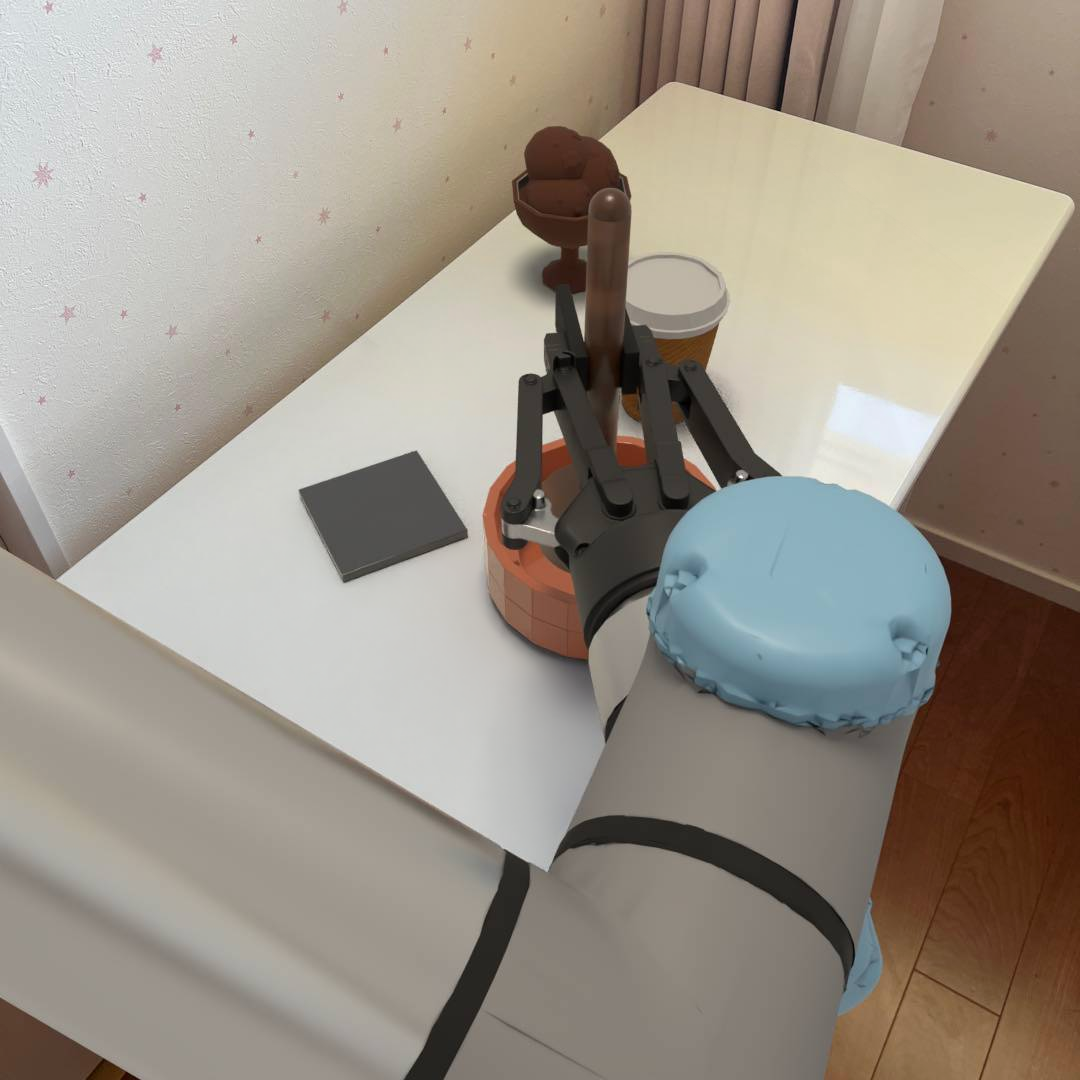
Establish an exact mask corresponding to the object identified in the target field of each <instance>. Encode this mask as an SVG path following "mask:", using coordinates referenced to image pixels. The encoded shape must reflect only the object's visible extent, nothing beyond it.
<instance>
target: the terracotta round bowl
mask: <svg viewBox="0 0 1080 1080" xmlns="http://www.w3.org/2000/svg"><path fill="white" fill-rule="evenodd" d="M616 458H617V460H618V463H619V465H622V466H630V467H638V466H641V465H644V464H647V459H646V451H645V444H644V439H642V438H639V437H635V436H627V435H618V434H617V447H616ZM684 463H685V469H686V471H687V472H688V473H690V474H691V475H693V476H694V477H696V478H697V479H699V480H700V481H702V482H703V483H705V484H706V485H708V486H709V487H711V488H712V489H714V490H715V491H718V490H717V489H716V486H715V485H714V484H713V483H712V482H711V481H710V480H709V479H708V478H707V476H706V475H705V474H704V473H703V472H702V471H701V470H700V468H698V466H697V465H696V464H694V463H692V462H691V461H689V460H688V459H686V458H684ZM570 464H573V462H572V459H571V456H570V454H569V451H568V448H567V446H566V443H565V440H564V438H563V437H561V438H558V439H555V440H552V441H550V442H546V443H543V444H542V484H543V483H544V481H545V480H546V479H547V478H548V477H549V476H550V475H551V474H552V473H554V472H555V471H557V470H559V469H561V468H562V467H565V466H567V465H570ZM515 465H516V459H515V460H513V461H512V462H511V463H509V464H508V465H506V467H505V468H504V469H503V470H502V471H501V473H500V474H499V475H498V477H497V478H496V479H495V480H494V482H493V483H492V485H491V486H490V487H489V490H488V493H487V497H486V500H485V505H484V508H483V511H482V531H483V533H482V534H483V548H484V564H485V566H484V567H485V573H486V581H487V586H488V591H489V592H488V593H489V596H490V598H491V600H492V601H493V603H494V604H495V606H496V608H497V609H498V611H499V613H500V614H501V616H502V617H503V619H504V620H505V622H506V623H507V624H508V625H510V626H511V627H512V628H513V629H515V630H516V631H517V632H518V633H520V634H521V635H522V636H524V637H525V638H526V639H527V640H528V641H530V642H531V643H532V644H534V645H536V646H539V647H541V648H544V649H546V650H549V651H552V652H554V653H556V654H559V655H561V656H563V657H565V658H567V657H568V658H574V659H581V660H589V651H588V650H587V647H586V645H585V641H584V637H583V632H582V627H581V622H580V617H579V612H578V607H577V602H576V597H575V592H574V587H573V582H572V577H571V574H570V573H568V572H565V571H563V570H561V569H559V568H558V567H556V566H555V565H554V564H552V563H551V562H550V561H549V560H548V559H547V558H546V557H545V555H544V554H543V553H542V551H541V549H540V547H539V544H538V543H535V542H531V541H528V543H527V544H526V546H525V547H523V548H521V549H518V550H511V549H508V548H506V547H505V546H504V545H503V543H502V528H501V506H500V504H501V500H502V498H503V497H504V495H505V493H506V491H507V490H508V488H509V486H510V484H511V482H512V481H513V479H514V477H515Z"/></svg>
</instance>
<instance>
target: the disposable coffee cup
mask: <svg viewBox="0 0 1080 1080" xmlns="http://www.w3.org/2000/svg"><path fill="white" fill-rule="evenodd" d="M730 304H731V296H730V292H729V290H728V287H727V283H726V281H725V278H724V276H723V273H722V272H721V271H720V270H719V269H718V268H717V267H716V266H715V265H713V264H712V263H710V262H709V261H707V260H705V259H703V258H701V257H698V256H695V255H692V254H688V253H684V252H674V251H657V252H650V253H645V254H642V255H638V256H635V257H633V258H631V259H630V260H628V276H627V291H626V310H627V313H628V316H629V319H630V322H631V326H636V325H646V326H647V327H648V328H650V329H651V331H652V334H653V337H654V340H655V343H656V346H657V349H658V352H659V355H660V357H661V358H663V359H664V361H665V363H668V364H671V365H677V366H679V363H680V362H682V361H684V360H690V359H691V360H696V361H698V362H699V363H700V364H701V365H702V366H703V368H704V370H705V371H707V368H708V364H709V361H710V359H711V354H712V351H713V347H714V344H715V340H716V337H717V333H718V330H719V327H720V323H721V321H722V320H723V318H724V317H725V316H726V314H727V313H728V310H729V307H730ZM638 395H639V390H638V387H637V394H627V395H622V391H621V390H620V396H621V404H622V405H621V406H622V407H623V409H624V410H625V412H626V413H627V414H628V415H629V416H630V417H631V418H633V419H635V420H637V421H638V422H640V423H641V416H640V409H639V410H637V407H638ZM672 407H673V413H674V419H675V425H676V424H678V423H681V422H684V421H683V419H682V417H681V415H680V413H679V412H678V410H677V408H676V406H675V403H674V402H672Z"/></svg>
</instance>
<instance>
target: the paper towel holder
mask: <svg viewBox="0 0 1080 1080" xmlns="http://www.w3.org/2000/svg"><path fill="white" fill-rule="evenodd" d="M631 203H632V202H631V200H629V198H628V197H627V196H626V194H625V193H624V192H622V191H620V190H619V189H616V188H605V189H602V190H600V191H599V192H597V193H596V194H595V195H594V196H593V198H592V199H591V202H590V204H589V210H588V239H587V246H586V262H587V270H586V291H585V302H584V303H585V304H584V307H585V308H584V332H583V333H584V336H583V340H584V346H585V348H586V351H587V355H588V369H587V396H588V399H589V401H590V404H591V406H592V408H593V411H594V413H595V416H596V418H597V421H598V423H599V426H600V428H601V430H602V433H603V435H604V438H605V440H606V443H607V445H608V446H612V448H613V451H614V453H615V455H616V447H617V435H618V430H619V415H620V399H621V387H620V384H621V369H622V353H623V338H624V322H625V307H626V291H627V276H628V261H630V260H629V258H630V243H631V229H632V228H631V226H632V212H633V211H632V204H631ZM620 466H622V465H620ZM581 488H582V486H581V483H580V481H579V478H578V475H577V473H576V470H575V467H574V464H570V465H567V466H565V467H562V468H561V469H559V470H557V471H555V472H554V473H552V474H551V475H550V476H549V477H548V478H547V479H546V480H545V481H544V483H543V484H542V490H543V491H544V492H545V497H546V498H548V499H549V500H550V501H551V503H552V513H553V515H554V516H556V517H557V518H560V517H561V515H562V514H563V513H564V511H565V510H566V509H567V507H568V506H569V505H570V503H571V502H572V501H573V499H574V498H575V496H576V495H577V494H578V492H579V491H580V490H581ZM538 544H539V543H538ZM539 547H540V549H541V551H542V553H543V554H544V555H545V557H546V558H547V559H548V560H549V561H550V562H551V563H552V564H554V565H555V566H556V567H558V568H559V569H561V570H563V571H565V572H568V573H570V572H569V571H568V569H567V568H566V567H565V566H564V565H563V564H562V563H561V562H560V561H559V560H558V558H557V557H556V554H555V551H554V548H553V547H549V546H546V545H542V544H539Z"/></svg>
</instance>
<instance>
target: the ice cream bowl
mask: <svg viewBox="0 0 1080 1080" xmlns="http://www.w3.org/2000/svg"><path fill="white" fill-rule="evenodd" d="M523 156H524V163H525V168H526V169H525V170H524V171H523V172H521V173H520V174H519V175H517V176H516V177H515V178H513V179H512V180H511V186H512V197H513V198H512V200H513V203H514V204H513V205H514V208H515V213H516V215H517V216H516V217H518V219H519V221H520V223H521V225H522V226H523V227H524V228H526V229H527V230H528V231H529V232H531V233H532V234H533V235H535V236H536V237H538V238H539V239H541V240H542V241H544V242H545V243H547V244H548V245H550V246H554V247H557V248H560V258H559V259H554V260H551V261H550V262H549V263H548V264H547V265H546V266H545V267H544V268H543V269H542V272H541V279H542V285H544V286H545V287H547V288H548V289H550V290H551V291H552V292H555V290H556V285H563V284H569V286H570V289H571V293H572V295H574V294H578V293H582V292H586V270H587V260H585V259H583V258H580V248H581V247H585V246H586V247H587V239H588V210H589V204H590V202H591V199H592V198H593V196H594V195H595V194H596V193H597V192H599V191H600V190H602V189H605V188H616V189H619V190H620V191H622V192H624V193H625V194H626V196H627V197H628V198H629V200H630V201H631V200H632V193H631V189H630V188H631V187H630V184H629V180H628V176H626V175H625V174H623V173H622V172H620V169H619V166H618V163H617V159H616V157H615V156H614V155H613V152H612V150H611V148H609V147H608V146H607V145H605V144H604V143H603V142H601V141H600V140H598V139H596V138H594V137H592V136H586V135H580V134H579V132H578V131H576V130H574V129H571V128H568V127H566V126H561V125H553V126H552V125H551V126H550V125H549V126H546V127H544V128H541V129H540V130H538V131H536V132H535V133H533V135H532V137H531V139H530V140H529V142H528V143H527V144H526V146H525V149H524V152H523Z"/></svg>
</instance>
